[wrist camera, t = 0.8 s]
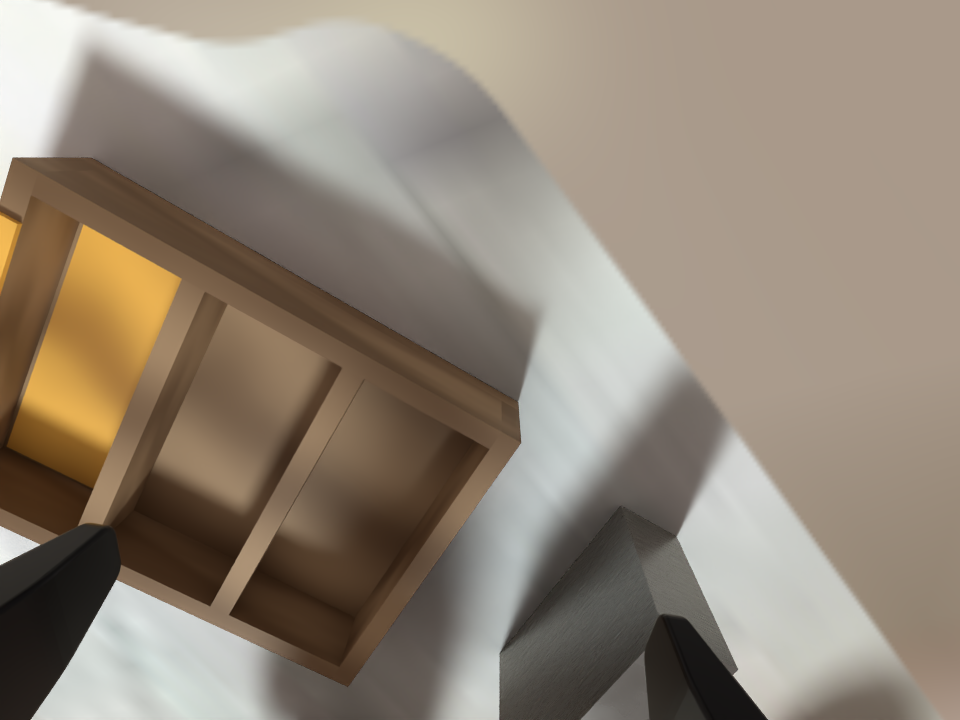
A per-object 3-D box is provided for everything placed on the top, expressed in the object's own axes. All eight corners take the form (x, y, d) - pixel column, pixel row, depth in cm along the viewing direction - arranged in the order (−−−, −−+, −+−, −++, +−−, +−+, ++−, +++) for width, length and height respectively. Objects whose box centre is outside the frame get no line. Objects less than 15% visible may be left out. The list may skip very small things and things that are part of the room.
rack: (366, 622, 27) (346, 691, 24) (-12, 439, 25) (-97, 486, 21) (518, 402, 23) (521, 445, 20) (83, 153, 20) (-3, 152, 17)
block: (551, 678, 28) (566, 837, 22) (499, 652, 28) (499, 806, 21) (675, 535, 25) (738, 669, 18) (620, 504, 25) (663, 630, 18)
